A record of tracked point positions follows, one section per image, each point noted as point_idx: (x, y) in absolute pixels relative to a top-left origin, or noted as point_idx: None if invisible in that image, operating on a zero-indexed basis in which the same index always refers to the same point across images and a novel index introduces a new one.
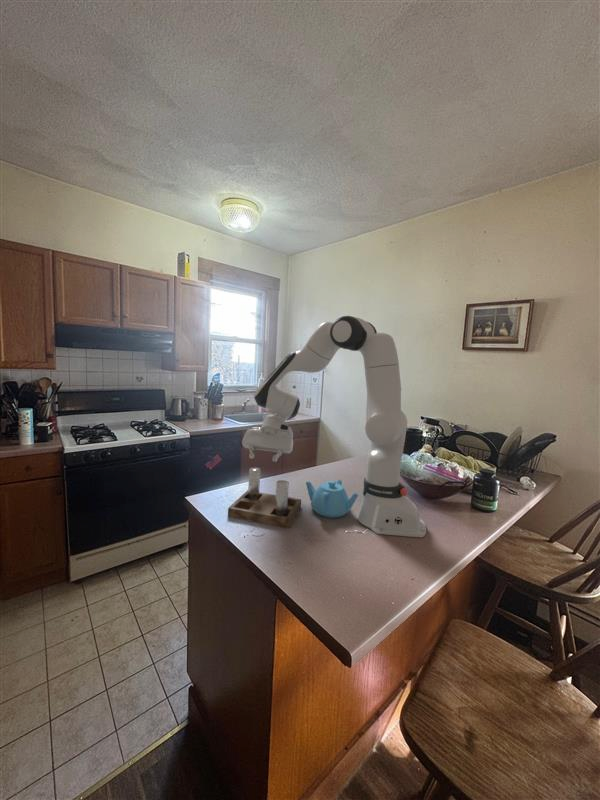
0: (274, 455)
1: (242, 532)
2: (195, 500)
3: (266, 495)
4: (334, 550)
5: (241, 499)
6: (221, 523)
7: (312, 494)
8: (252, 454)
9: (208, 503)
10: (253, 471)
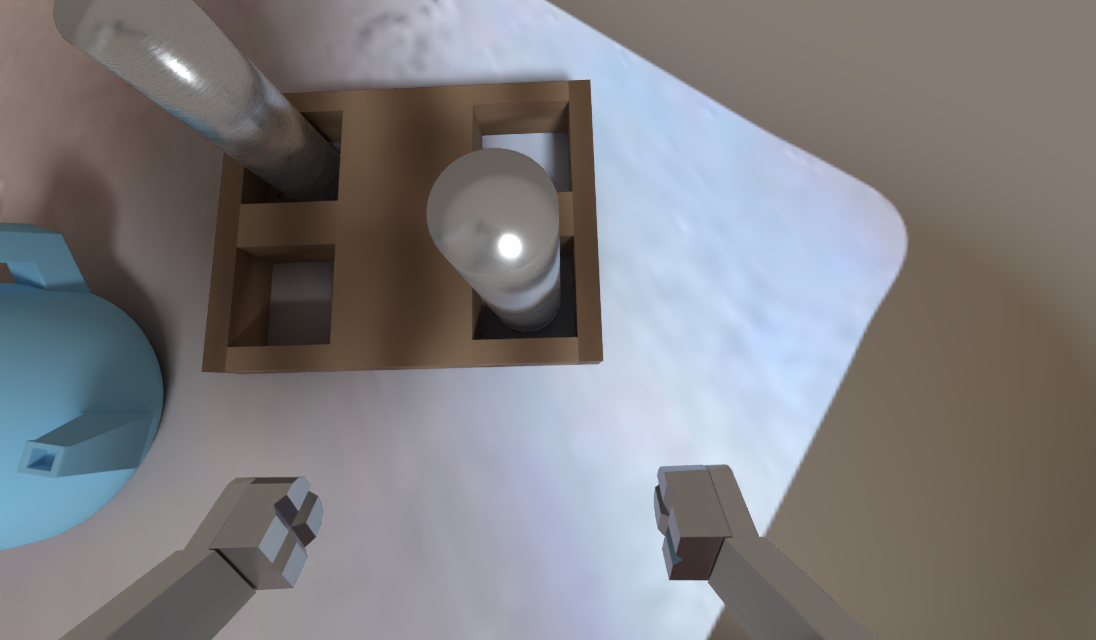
0: (231, 545)
1: (455, 19)
2: (862, 206)
3: (443, 332)
4: (51, 42)
5: (572, 209)
6: (581, 48)
7: (94, 412)
8: (678, 495)
9: (769, 202)
10: (484, 150)
